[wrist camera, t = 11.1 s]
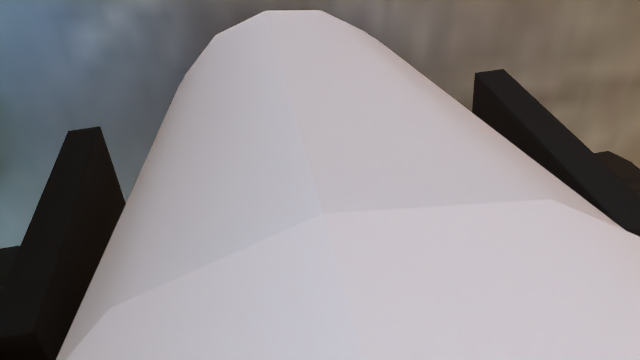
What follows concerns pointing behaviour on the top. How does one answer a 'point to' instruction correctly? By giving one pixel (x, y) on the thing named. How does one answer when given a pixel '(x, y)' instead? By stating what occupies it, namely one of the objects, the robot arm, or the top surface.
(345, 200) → the foam cup
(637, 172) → the robot arm
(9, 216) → the top surface
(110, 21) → the top surface
